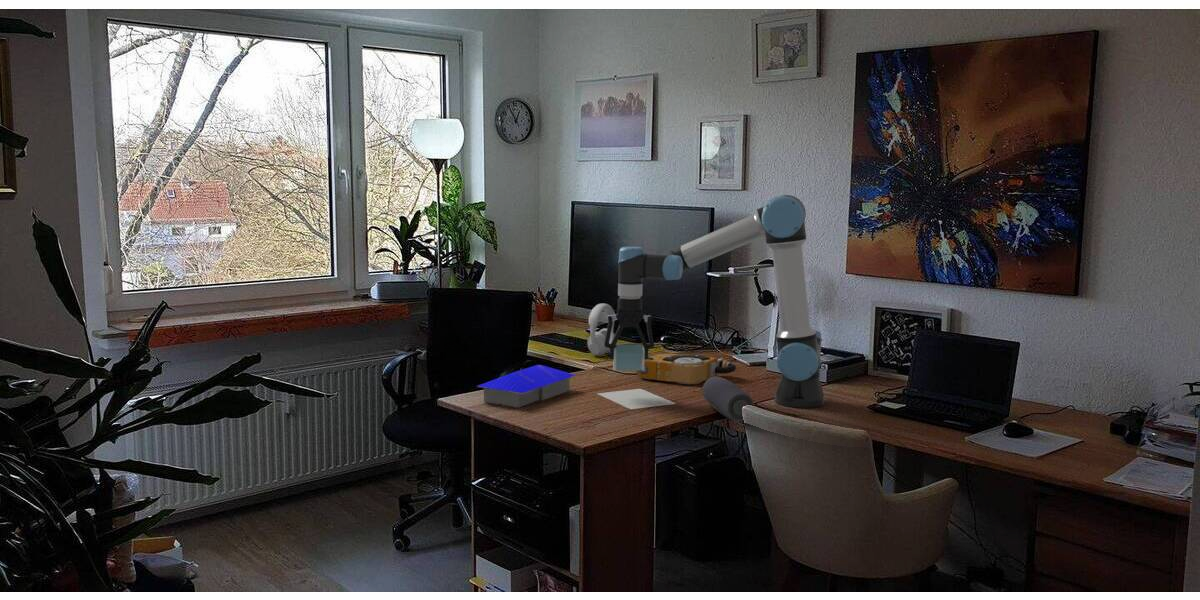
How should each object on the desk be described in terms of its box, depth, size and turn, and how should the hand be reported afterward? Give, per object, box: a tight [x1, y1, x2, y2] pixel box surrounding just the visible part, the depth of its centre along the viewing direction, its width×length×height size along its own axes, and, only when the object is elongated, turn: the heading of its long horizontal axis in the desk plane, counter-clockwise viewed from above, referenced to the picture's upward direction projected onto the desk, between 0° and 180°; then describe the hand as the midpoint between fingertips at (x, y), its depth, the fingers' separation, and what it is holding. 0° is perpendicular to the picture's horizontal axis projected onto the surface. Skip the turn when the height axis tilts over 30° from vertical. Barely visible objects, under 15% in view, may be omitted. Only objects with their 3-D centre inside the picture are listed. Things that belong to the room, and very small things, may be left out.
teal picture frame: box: [615, 344, 644, 371], centre depth 304 cm, size 8×3×10 cm
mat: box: [597, 388, 677, 410], centre depth 305 cm, size 22×16×1 cm
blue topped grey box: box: [476, 364, 577, 408], centre depth 308 cm, size 30×17×9 cm, turn 150°
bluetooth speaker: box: [701, 376, 755, 422], centre depth 286 cm, size 23×9×10 cm, turn 12°
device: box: [635, 353, 737, 385], centre depth 336 cm, size 23×8×30 cm
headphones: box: [586, 303, 616, 357], centre depth 375 cm, size 18×8×20 cm, turn 156°
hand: (628, 369), depth 303 cm, fingers closed on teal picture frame, 8 cm apart
